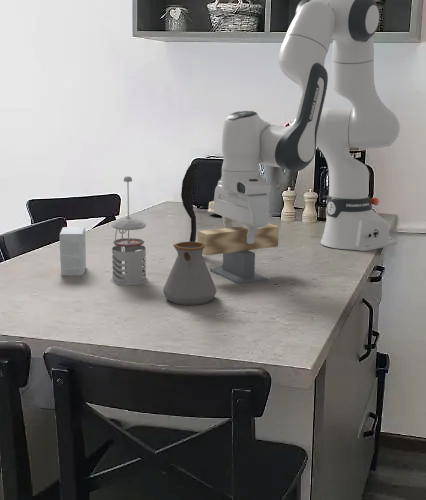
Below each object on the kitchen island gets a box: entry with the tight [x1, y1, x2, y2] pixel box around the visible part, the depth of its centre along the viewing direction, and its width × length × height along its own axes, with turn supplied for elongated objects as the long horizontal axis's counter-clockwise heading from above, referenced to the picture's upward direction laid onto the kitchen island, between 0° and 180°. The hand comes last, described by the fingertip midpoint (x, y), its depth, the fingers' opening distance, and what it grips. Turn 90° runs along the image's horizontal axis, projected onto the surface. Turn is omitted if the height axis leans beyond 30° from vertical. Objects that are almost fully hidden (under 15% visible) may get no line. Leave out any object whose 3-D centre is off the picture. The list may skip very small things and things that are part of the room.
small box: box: [59, 226, 87, 276], centre depth 183 cm, size 8×6×10 cm
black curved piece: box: [180, 161, 200, 242], centre depth 200 cm, size 8×4×25 cm, turn 166°
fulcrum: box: [209, 250, 269, 285], centre depth 181 cm, size 8×14×7 cm, turn 29°
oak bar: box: [197, 222, 279, 256], centre depth 180 cm, size 20×4×5 cm, turn 119°
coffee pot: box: [162, 241, 217, 306], centre depth 155 cm, size 21×12×15 cm, turn 178°
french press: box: [109, 175, 149, 286], centre depth 175 cm, size 10×12×25 cm
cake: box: [207, 200, 216, 214], centre depth 264 cm, size 10×10×5 cm
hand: (239, 239), depth 180 cm, fingers open, 8 cm apart
